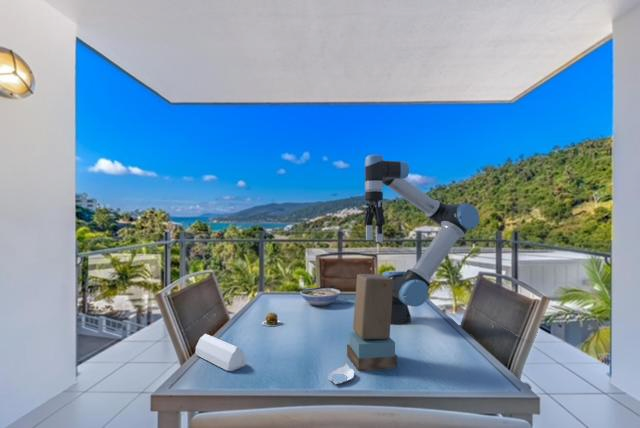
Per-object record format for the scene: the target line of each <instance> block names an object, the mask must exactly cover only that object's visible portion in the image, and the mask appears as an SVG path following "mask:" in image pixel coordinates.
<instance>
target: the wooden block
mask: <svg viewBox="0 0 640 428" xmlns="http://www.w3.org/2000/svg"><path fill="white" fill-rule="evenodd" d="M356 275H357V276H356V284H355V286H356V287H355V298H354V299H355V300H354V311H353V312H354V314H353V327H352V329H353V332H356V333H357V334H358V335H359V336H360V337H361V338H362V339H389V337H390V335H391V325H392V324H391V310H392V295H393V279H391V278H388V277H386V276H384V275H382V274H377V273H375V274H374V273H358V274H356ZM390 338H391V337H390Z"/></svg>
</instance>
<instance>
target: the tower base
mask: <svg viewBox="0 0 640 428" xmlns="http://www.w3.org/2000/svg"><path fill="white" fill-rule="evenodd" d="M346 356H347V358H348V359H349V361H350V362H351V364H352V363H353V364H352V365H353V366H354V368H355V367H356V368H355V369H356V370H357V372H358V371H363V372H371V371H381V370H382V371H383V370H392V369H398V355H397V353H395V356H393V357H377V358H362V359H359V358H358V357H357V355H356V354H355V352H354V351H353V349H352V348H351V347H350V343H349V344H347V345H346Z"/></svg>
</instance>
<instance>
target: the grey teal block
mask: <svg viewBox="0 0 640 428" xmlns="http://www.w3.org/2000/svg"><path fill="white" fill-rule="evenodd" d="M349 344H350V347H351V348H352V349H353V351H354V352H355V354H356V355H357V357H358V358H359V359H362V358H377V357H393V356H395V354H396V342H395V340H393V339H392V338H391V337H389V339H362V338H361V337H360V336H359V335H358V334H357V333H356V332H355V331H352V332H351V331H350V332H349Z"/></svg>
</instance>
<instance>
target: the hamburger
mask: <svg viewBox="0 0 640 428" xmlns="http://www.w3.org/2000/svg"><path fill="white" fill-rule="evenodd" d="M277 323H279V324H277ZM261 324H262V325H263V326H265V327H270V326H272V327H276V326H277V327H278V326H279V325H281V324H282V321H281V320H278V314H277V313H275V312H269V313H268V314H266V316H265V320H264V321H262V323H261Z"/></svg>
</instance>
